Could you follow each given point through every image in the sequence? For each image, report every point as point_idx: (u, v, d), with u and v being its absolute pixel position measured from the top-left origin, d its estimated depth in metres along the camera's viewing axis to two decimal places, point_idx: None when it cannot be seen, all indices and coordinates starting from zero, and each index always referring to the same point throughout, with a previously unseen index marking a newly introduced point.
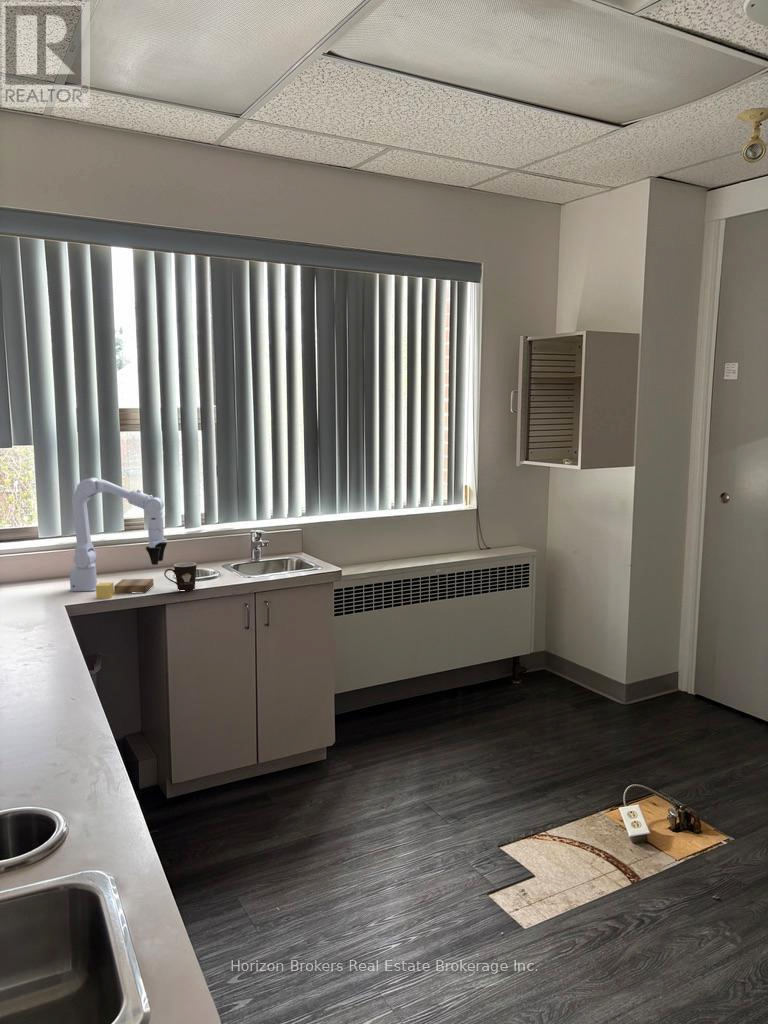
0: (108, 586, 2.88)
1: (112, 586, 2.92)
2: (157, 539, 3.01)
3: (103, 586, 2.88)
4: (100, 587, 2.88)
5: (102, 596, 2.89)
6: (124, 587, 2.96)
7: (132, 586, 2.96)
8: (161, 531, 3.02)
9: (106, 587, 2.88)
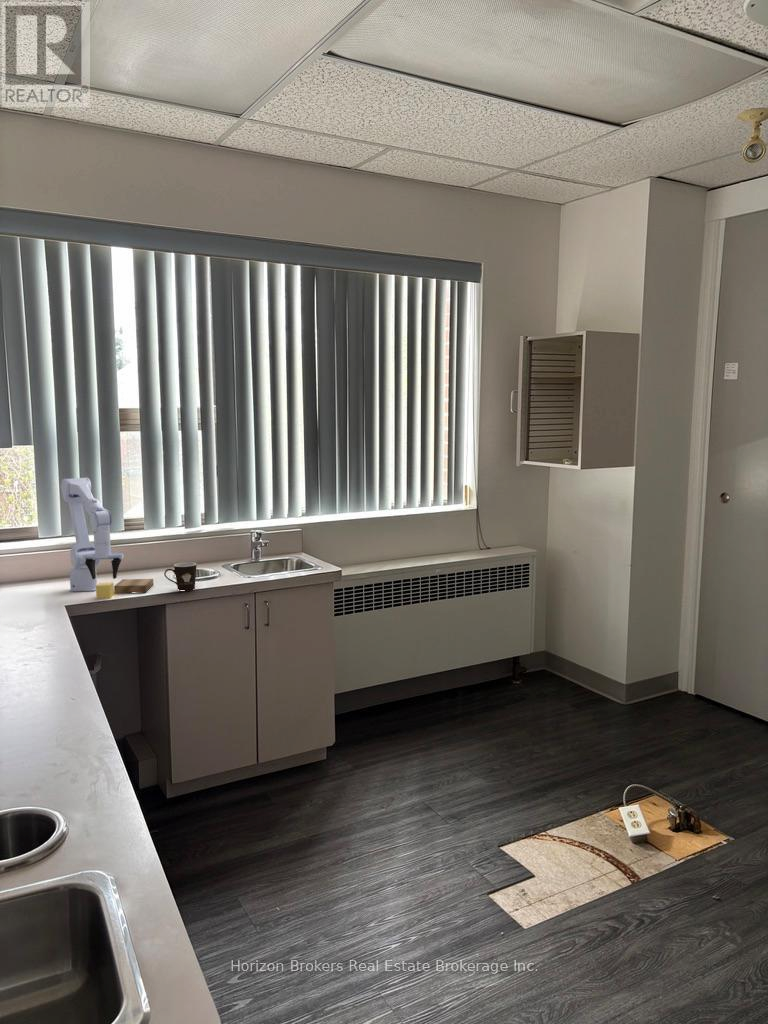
0: (108, 586, 2.88)
1: (112, 586, 2.92)
2: (94, 553, 2.88)
3: (103, 586, 2.88)
4: (100, 587, 2.88)
5: (102, 596, 2.89)
6: (124, 587, 2.96)
7: (132, 586, 2.96)
8: (96, 546, 2.86)
9: (106, 587, 2.88)
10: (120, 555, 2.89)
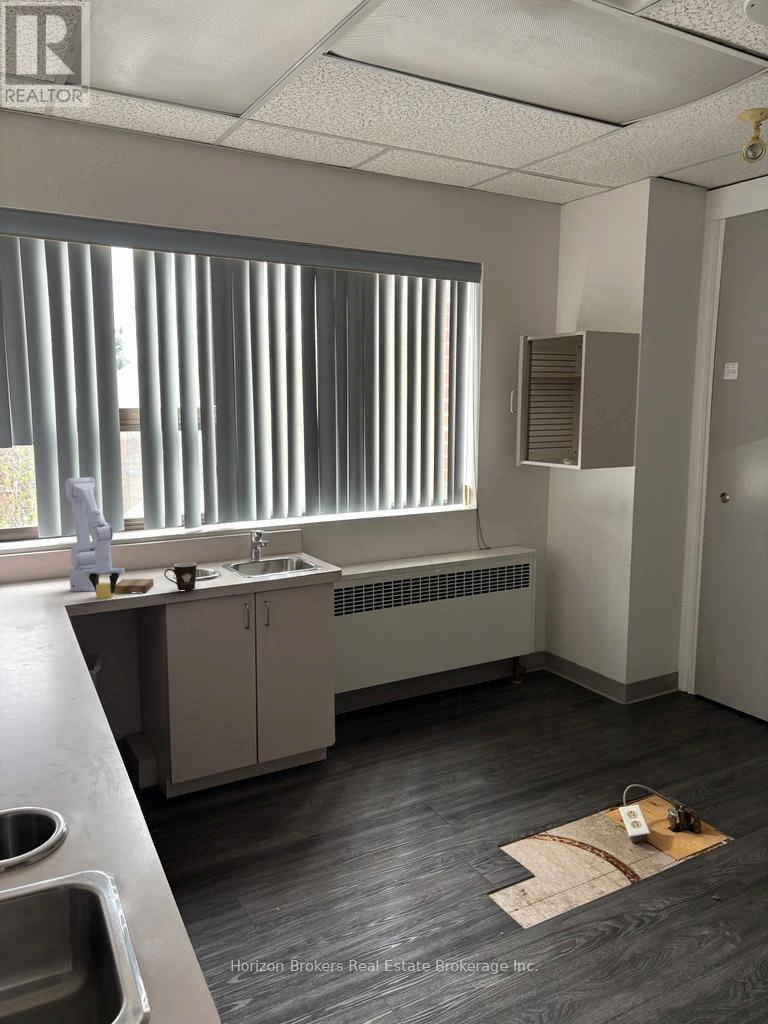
0: (108, 586, 2.88)
1: None
2: (95, 568, 2.89)
3: (103, 586, 2.88)
4: (100, 587, 2.88)
5: (102, 596, 2.89)
6: (124, 587, 2.96)
7: (132, 586, 2.96)
8: (97, 561, 2.87)
9: (106, 587, 2.88)
10: (121, 570, 2.89)
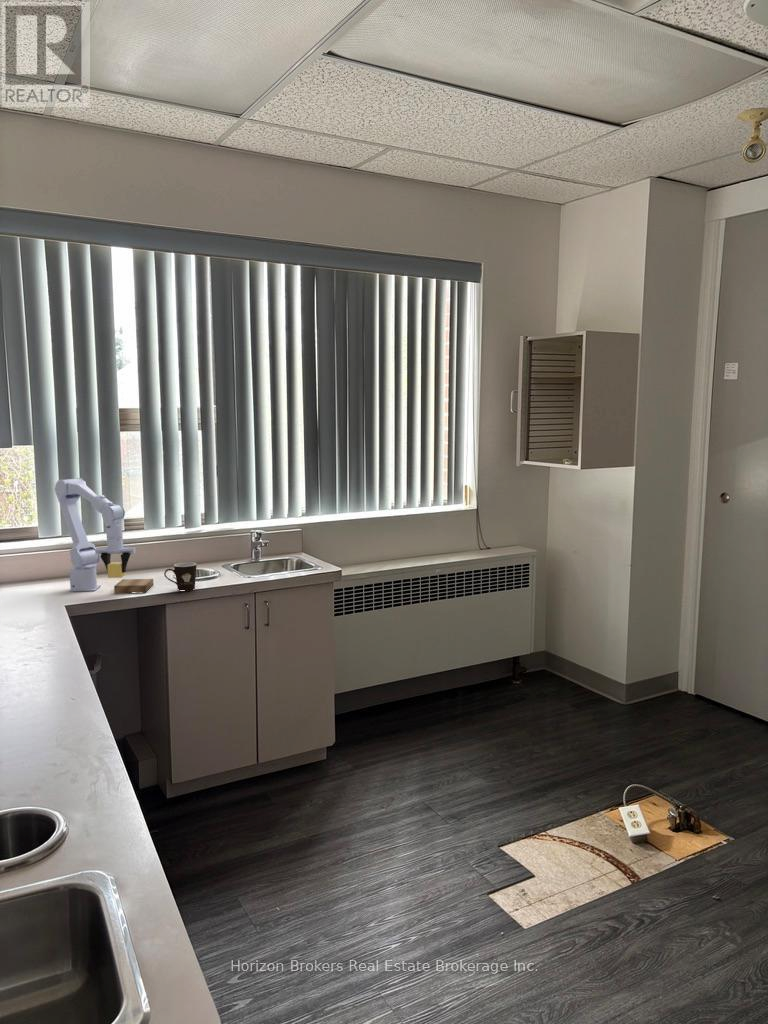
0: (119, 565, 2.92)
1: None
2: (107, 547, 2.92)
3: (114, 565, 2.92)
4: (111, 566, 2.92)
5: (113, 575, 2.92)
6: (124, 587, 2.96)
7: (132, 586, 2.96)
8: (109, 540, 2.91)
9: (117, 566, 2.92)
10: (132, 549, 2.93)
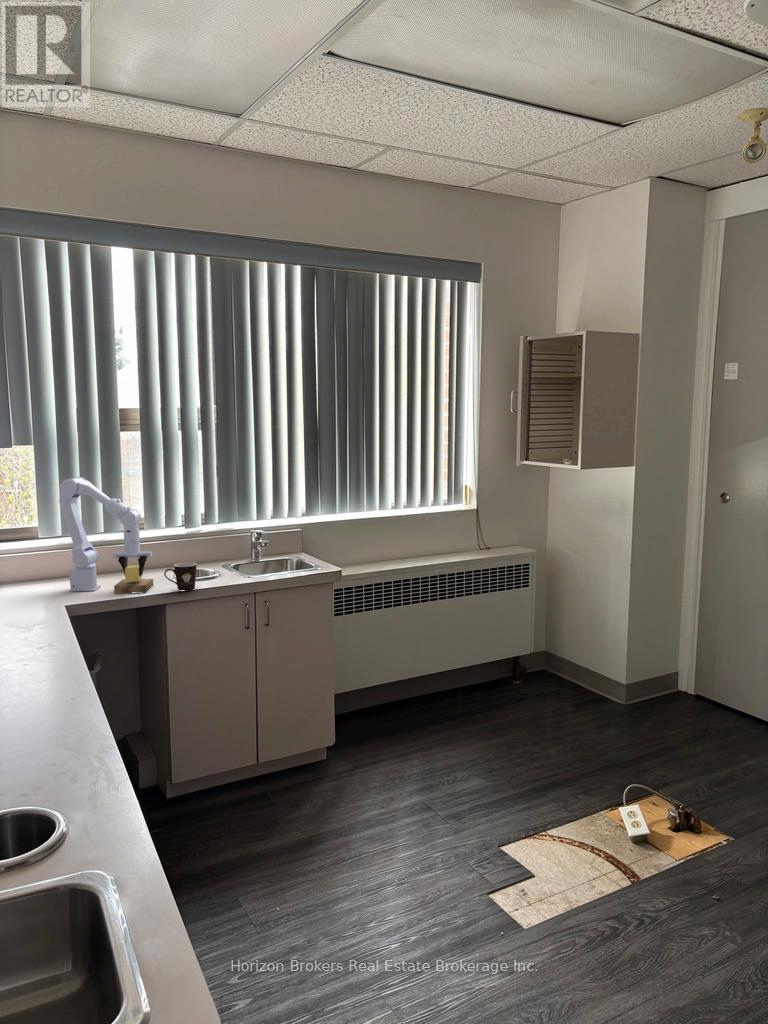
0: (136, 569, 2.99)
1: None
2: None
3: (132, 569, 2.99)
4: (129, 569, 2.99)
5: (131, 578, 2.99)
6: (124, 587, 2.96)
7: (132, 586, 2.96)
8: (126, 544, 2.98)
9: (135, 570, 2.99)
10: (149, 553, 3.00)
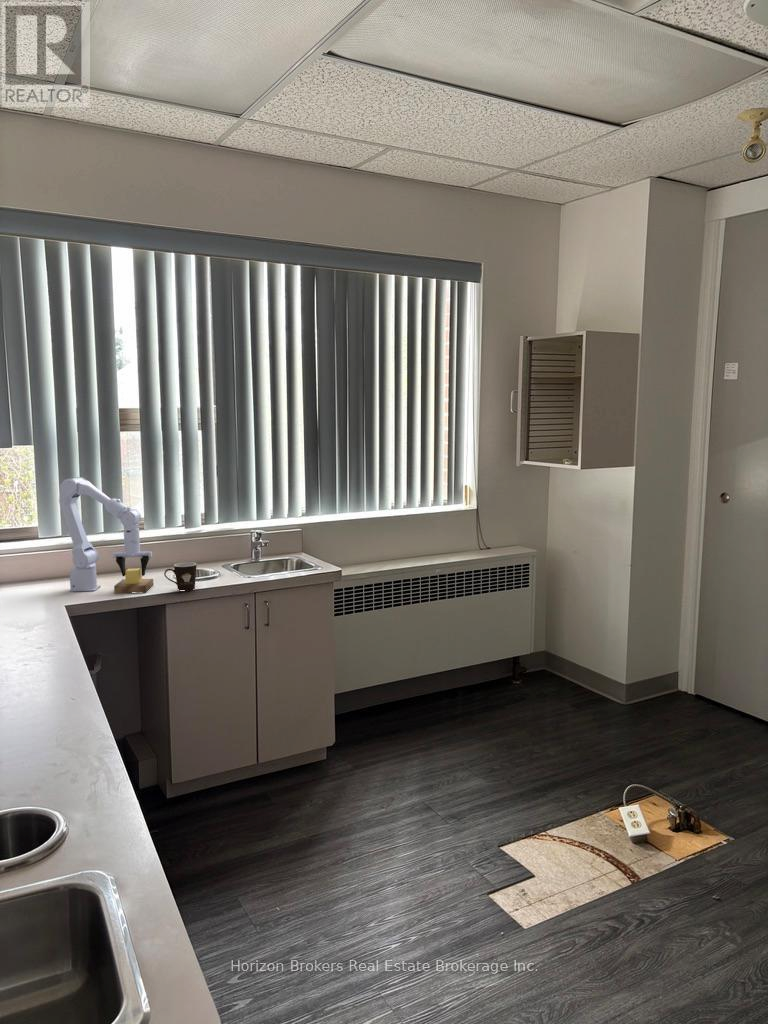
0: (137, 571, 2.99)
1: (140, 572, 3.03)
2: None
3: (132, 571, 2.99)
4: (129, 572, 2.99)
5: (131, 581, 2.99)
6: (124, 587, 2.96)
7: (132, 586, 2.96)
8: (126, 544, 2.98)
9: (135, 572, 2.99)
10: (149, 553, 3.00)
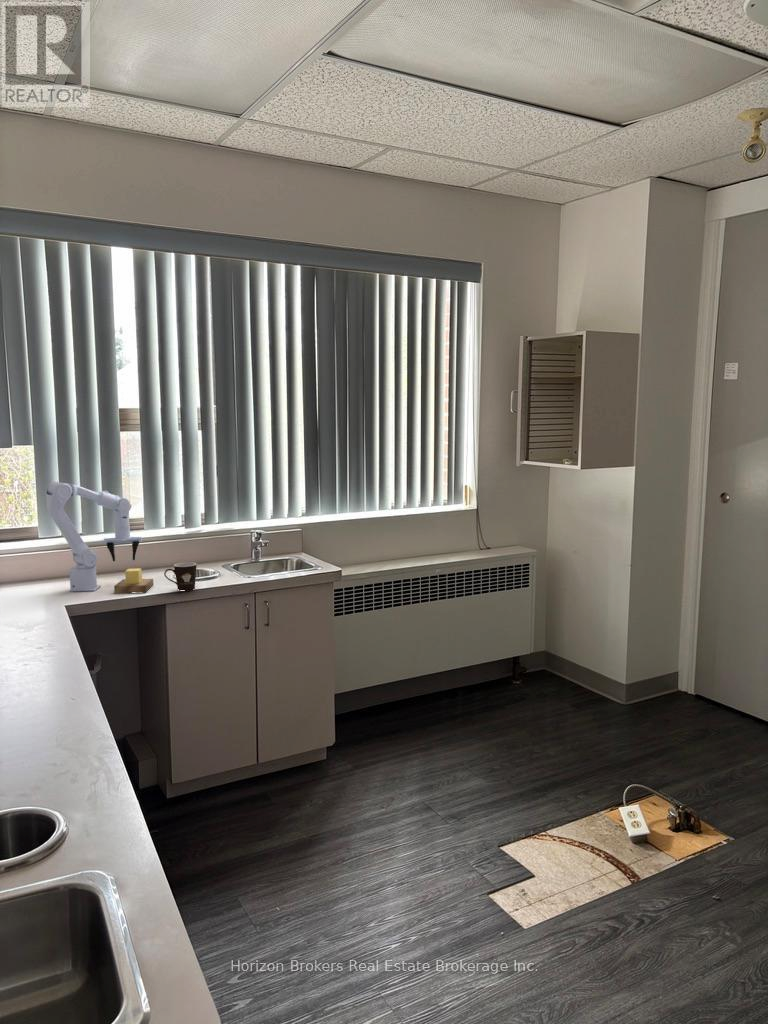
0: (137, 571, 2.99)
1: (140, 572, 3.03)
2: (115, 537, 3.11)
3: (132, 571, 2.99)
4: (129, 572, 2.99)
5: (131, 581, 2.99)
6: (124, 587, 2.96)
7: (132, 586, 2.96)
8: (118, 530, 3.10)
9: (135, 572, 2.99)
10: (139, 538, 3.13)
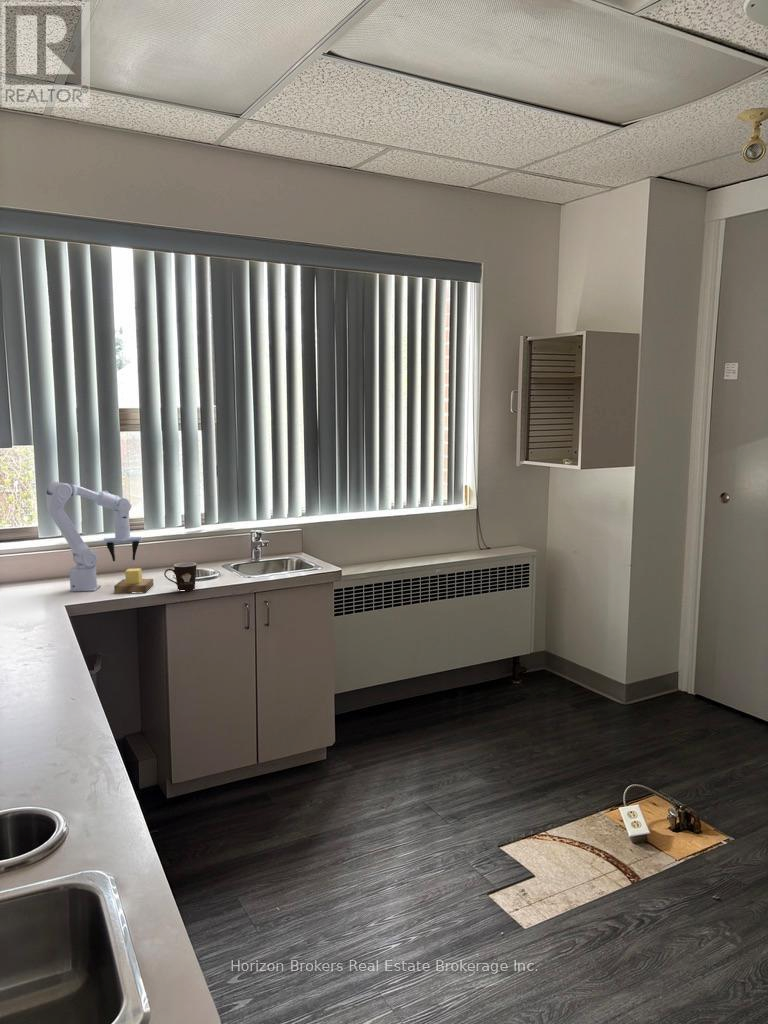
0: (137, 571, 2.99)
1: (140, 572, 3.03)
2: (115, 537, 3.11)
3: (132, 571, 2.99)
4: (129, 572, 2.99)
5: (131, 581, 2.99)
6: (124, 587, 2.96)
7: (132, 586, 2.96)
8: (118, 530, 3.10)
9: (135, 572, 2.99)
10: (139, 538, 3.13)
